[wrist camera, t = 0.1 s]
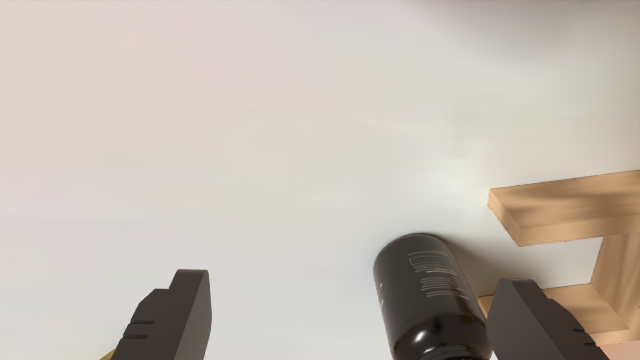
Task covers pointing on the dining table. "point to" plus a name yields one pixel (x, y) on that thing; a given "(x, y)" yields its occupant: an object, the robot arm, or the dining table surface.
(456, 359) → the supplement bottle
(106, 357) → the ball valve
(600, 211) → the frame
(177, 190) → the dining table surface
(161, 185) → the dining table surface
